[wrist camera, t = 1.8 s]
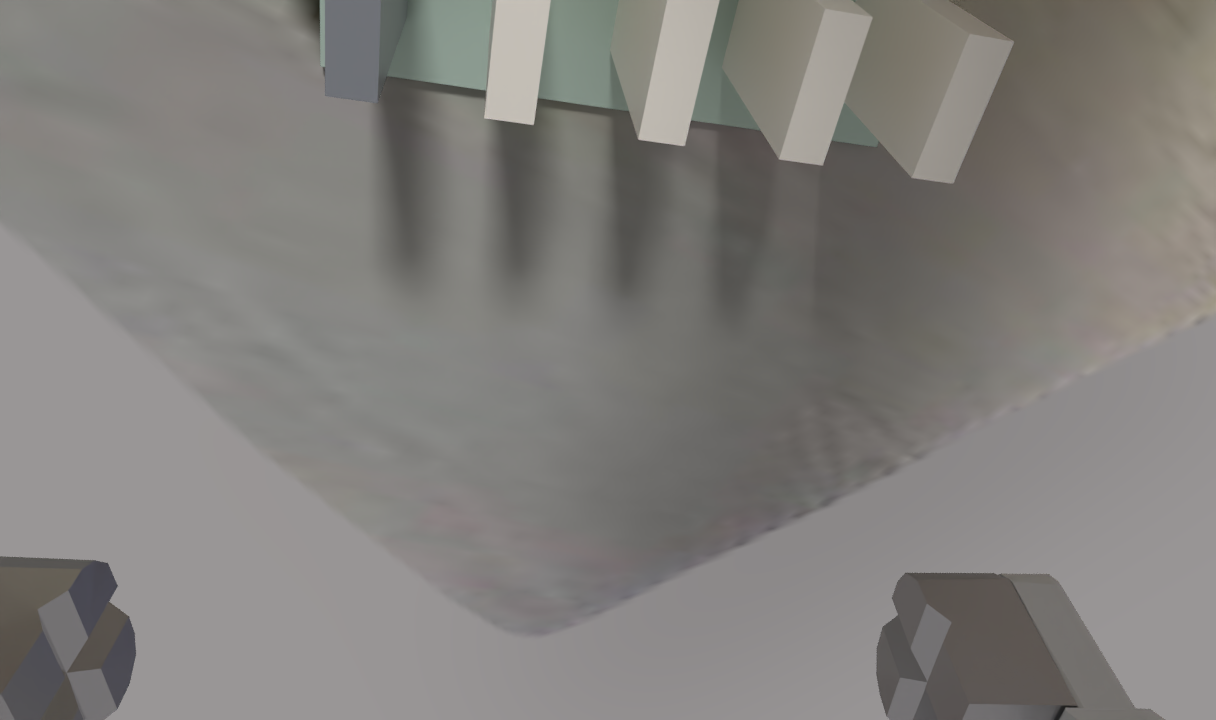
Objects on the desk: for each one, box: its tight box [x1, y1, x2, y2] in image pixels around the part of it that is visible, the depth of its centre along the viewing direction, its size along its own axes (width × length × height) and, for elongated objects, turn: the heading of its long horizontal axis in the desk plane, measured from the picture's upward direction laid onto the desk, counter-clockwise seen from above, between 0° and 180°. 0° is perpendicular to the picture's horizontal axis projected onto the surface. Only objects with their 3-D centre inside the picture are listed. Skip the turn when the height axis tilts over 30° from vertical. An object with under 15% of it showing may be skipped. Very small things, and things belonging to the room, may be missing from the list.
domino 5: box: [844, 0, 1014, 184], centre depth 34 cm, size 2×5×10 cm, turn 170°
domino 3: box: [610, 0, 720, 146], centre depth 32 cm, size 2×5×10 cm, turn 169°
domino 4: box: [722, 0, 873, 166], centre depth 33 cm, size 2×5×10 cm, turn 170°
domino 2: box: [484, 0, 551, 125], centre depth 31 cm, size 2×5×10 cm, turn 169°
